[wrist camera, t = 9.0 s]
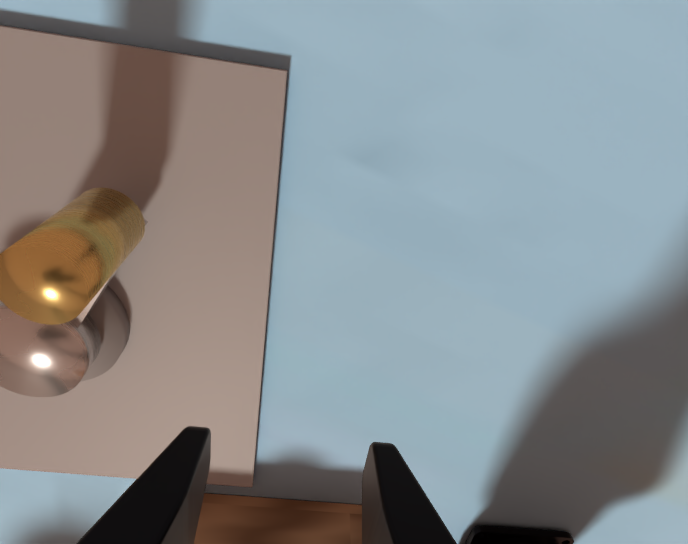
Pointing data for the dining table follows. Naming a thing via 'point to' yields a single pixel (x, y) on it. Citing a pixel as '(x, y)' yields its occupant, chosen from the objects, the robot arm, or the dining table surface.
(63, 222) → the crank
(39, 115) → the dial plate
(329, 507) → the tray
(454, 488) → the dining table surface
